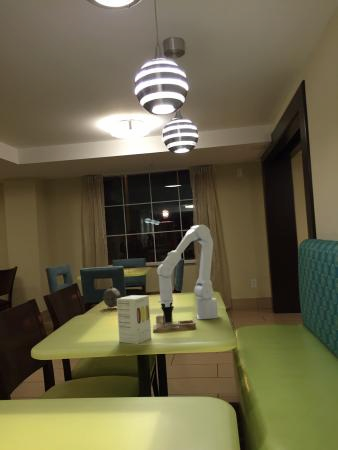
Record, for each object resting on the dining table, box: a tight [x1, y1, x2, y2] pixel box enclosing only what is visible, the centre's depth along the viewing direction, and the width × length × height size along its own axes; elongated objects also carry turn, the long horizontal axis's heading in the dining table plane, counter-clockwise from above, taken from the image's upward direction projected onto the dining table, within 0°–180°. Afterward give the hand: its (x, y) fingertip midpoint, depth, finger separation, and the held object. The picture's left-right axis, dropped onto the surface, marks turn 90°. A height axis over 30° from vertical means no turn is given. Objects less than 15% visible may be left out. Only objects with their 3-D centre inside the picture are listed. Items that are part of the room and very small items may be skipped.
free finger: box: [162, 311, 174, 324], centre depth 166 cm, size 4×4×5 cm
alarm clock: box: [102, 281, 122, 310], centre depth 215 cm, size 11×5×16 cm, turn 58°
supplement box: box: [116, 294, 152, 345], centre depth 142 cm, size 10×9×17 cm
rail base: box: [152, 313, 197, 334], centre depth 155 cm, size 18×8×6 cm, turn 93°
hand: (168, 320), depth 166 cm, fingers open, 7 cm apart
